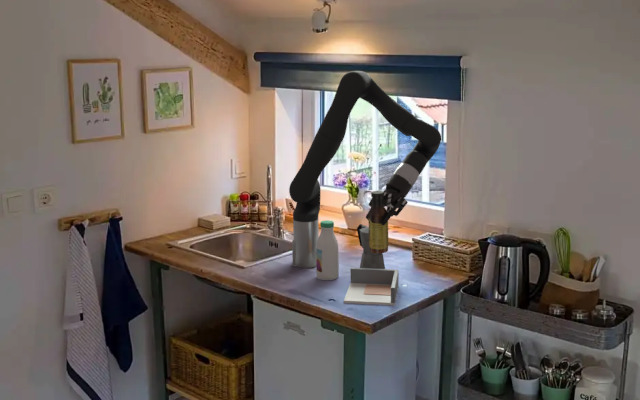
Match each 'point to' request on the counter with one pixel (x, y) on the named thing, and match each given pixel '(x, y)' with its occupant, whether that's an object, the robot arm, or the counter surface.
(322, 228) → the milk bottle
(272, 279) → the counter surface
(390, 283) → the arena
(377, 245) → the sauce bottle
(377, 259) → the coffeepot
